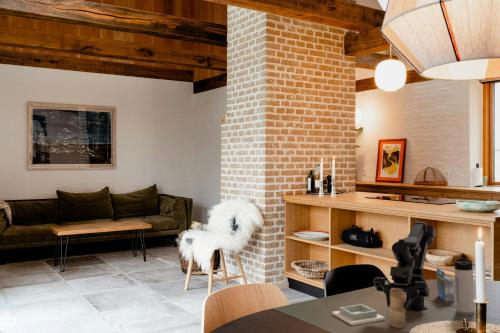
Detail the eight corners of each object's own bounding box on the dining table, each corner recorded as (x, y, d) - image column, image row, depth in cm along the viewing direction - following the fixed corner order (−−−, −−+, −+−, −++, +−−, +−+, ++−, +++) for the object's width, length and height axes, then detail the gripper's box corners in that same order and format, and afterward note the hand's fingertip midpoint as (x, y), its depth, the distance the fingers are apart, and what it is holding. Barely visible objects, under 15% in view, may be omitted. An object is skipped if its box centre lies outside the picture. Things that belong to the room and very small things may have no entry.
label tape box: (454, 301, 194) (453, 271, 194) (444, 302, 195) (443, 271, 195) (446, 295, 203) (445, 267, 203) (436, 296, 203) (435, 267, 203)
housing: (363, 309, 187) (363, 302, 187) (385, 320, 174) (384, 311, 174) (332, 314, 183) (332, 306, 183) (351, 325, 170) (351, 316, 170)
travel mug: (473, 310, 182) (471, 258, 182) (475, 316, 176) (473, 261, 176) (455, 309, 184) (453, 257, 184) (456, 314, 178) (455, 261, 178)
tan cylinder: (398, 322, 172) (397, 288, 172) (408, 326, 167) (407, 291, 167) (387, 324, 169) (386, 290, 169) (398, 328, 165) (396, 293, 165)
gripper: (374, 255, 177) (364, 292, 168) (426, 259, 166) (419, 298, 157) (381, 272, 183) (372, 308, 174) (432, 277, 173) (425, 315, 164)
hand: (396, 307), depth 167 cm, fingers open, 6 cm apart
